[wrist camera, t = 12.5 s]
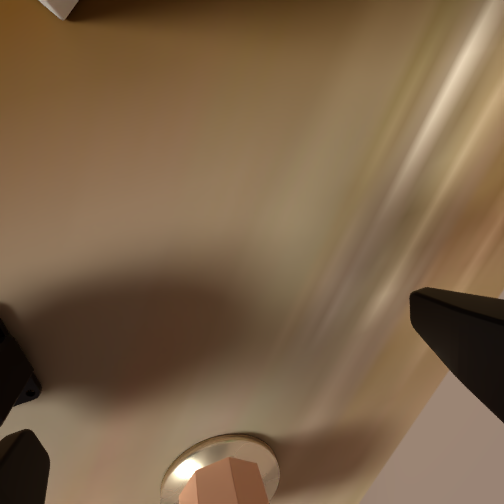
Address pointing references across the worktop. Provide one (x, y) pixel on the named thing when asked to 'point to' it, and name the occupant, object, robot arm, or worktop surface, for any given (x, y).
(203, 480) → the terracotta pot
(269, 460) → the silver pot lid
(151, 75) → the worktop surface
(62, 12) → the milk carton
